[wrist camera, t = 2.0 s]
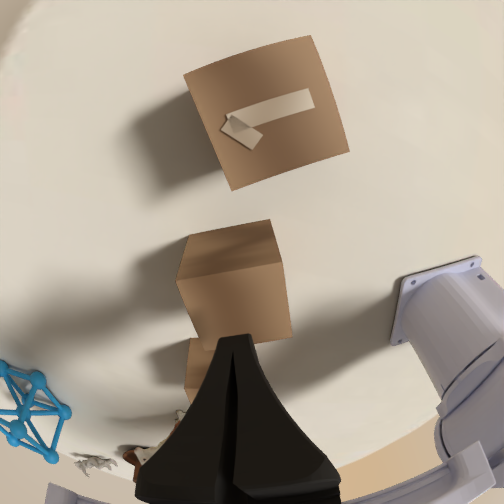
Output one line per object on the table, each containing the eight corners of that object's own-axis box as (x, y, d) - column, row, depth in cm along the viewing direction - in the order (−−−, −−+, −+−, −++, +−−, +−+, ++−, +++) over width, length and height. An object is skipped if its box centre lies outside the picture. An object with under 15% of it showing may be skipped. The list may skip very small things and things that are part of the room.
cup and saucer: (204, 459, 37) (204, 490, 32) (170, 468, 41) (169, 494, 36) (140, 438, 33) (135, 472, 27) (115, 449, 37) (110, 477, 31)
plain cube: (269, 218, 17) (282, 261, 13) (280, 284, 19) (292, 337, 15) (189, 234, 17) (175, 280, 13) (209, 297, 20) (204, 350, 15)
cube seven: (253, 334, 22) (258, 387, 17) (255, 371, 24) (259, 418, 20) (190, 337, 21) (184, 389, 17) (200, 373, 24) (197, 420, 20)
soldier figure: (125, 461, 42) (96, 473, 41) (112, 443, 44) (85, 457, 43) (106, 473, 35) (77, 483, 34) (92, 453, 36) (65, 465, 36)
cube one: (287, 56, 12) (311, 34, 8) (316, 137, 15) (350, 152, 10) (199, 85, 13) (182, 74, 8) (232, 165, 15) (231, 192, 11)
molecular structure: (76, 411, 29) (60, 468, 20) (29, 397, 28) (10, 446, 20) (43, 369, 24) (16, 435, 15) (-4, 355, 23) (-31, 408, 15)
